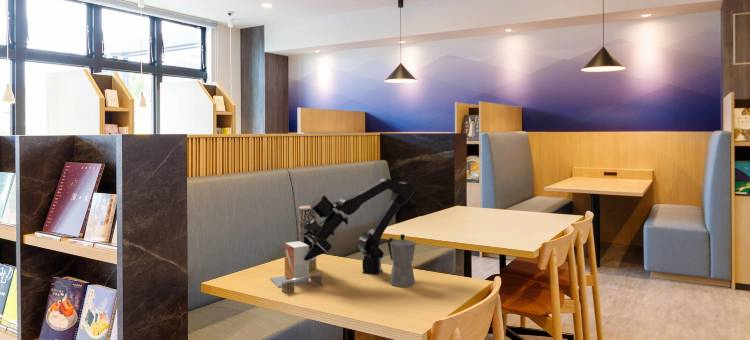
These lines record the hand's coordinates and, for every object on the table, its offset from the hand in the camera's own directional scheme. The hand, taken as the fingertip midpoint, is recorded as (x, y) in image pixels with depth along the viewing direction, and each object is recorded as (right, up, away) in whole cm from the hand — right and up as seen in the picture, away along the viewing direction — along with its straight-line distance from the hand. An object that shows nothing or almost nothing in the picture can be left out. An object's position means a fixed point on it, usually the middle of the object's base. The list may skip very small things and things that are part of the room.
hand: (301, 257), depth 199 cm
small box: (-2, -8, 0) cm, 8 cm away
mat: (-4, -8, -1) cm, 9 cm away
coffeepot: (+36, -9, -3) cm, 38 cm away
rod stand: (+2, -9, -10) cm, 14 cm away
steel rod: (+2, -6, -10) cm, 12 cm away
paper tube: (0, -7, +16) cm, 18 cm away
